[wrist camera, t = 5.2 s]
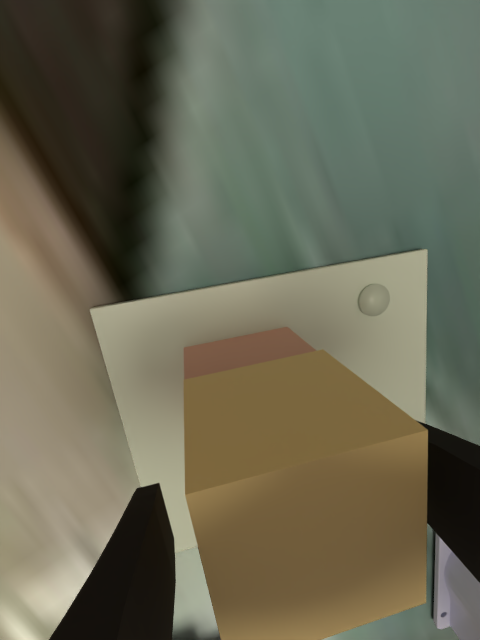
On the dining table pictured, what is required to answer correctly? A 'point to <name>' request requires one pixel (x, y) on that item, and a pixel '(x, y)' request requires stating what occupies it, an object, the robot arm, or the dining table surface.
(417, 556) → the ochre brick
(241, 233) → the dining table surface
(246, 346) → the terracotta brick
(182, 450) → the plate
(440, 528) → the robot arm
